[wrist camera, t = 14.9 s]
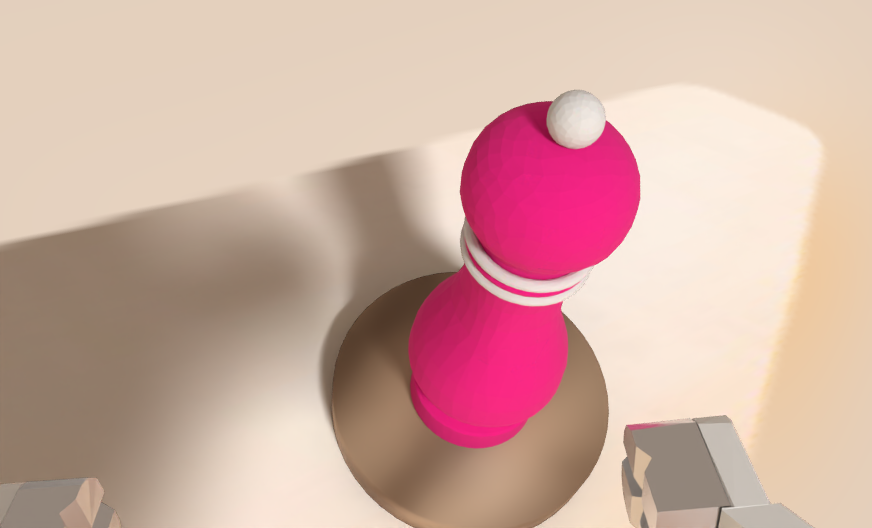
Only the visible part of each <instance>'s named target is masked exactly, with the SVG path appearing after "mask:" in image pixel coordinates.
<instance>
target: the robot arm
mask: <svg viewBox="0 0 872 528" xmlns="http://www.w3.org/2000/svg"><path fill="white" fill-rule="evenodd" d="M623 442H624V446H625V449H626V453H627V457H626V458H625V459H624V460H623V461H622V486H623V495H624V500H625V505H626V510H627V513H628V517H629V521H630V523H631V524H632V525H633V526H634V527H635V528H814V527H813V526H812V525H810V524H809V523H807V522H806V521H805V520H803V519H802V518H801V517H799V516H798V515H797V514H795V513H794V512H792V511H791V510H790V509H788V508H787V507H785V506H784V505H783V504H781V503H770V501H769V499H768V497H767V495H766V493H765V491H764V489H763V487H762V485H761V483H760V480H759V478H758V476H757V474H756V472H755V470H754V467H753V465H752V463H751V461H750V459H749V457H748V455H747V453H746V450H745V448H744V446H743V444H742V442H741V440H740V438H739V436H738V433H737V431H736V429H735V427H734V425H733V423H732V421H731V420H730V419H729V418H728V417H727V416H726V415H724V416H714V417H704V418H693V419H690V418H689V419H679V420H670V421H661V422H652V423H642V424H633V425H626V428H625V430H624V441H623ZM104 492H105V491H104V489H103V487H102V486H101V484H100V483H99V481H98V479H97V478H75V479H60V480H46V481H31V482H21V483H9V484H0V528H121V523H120V519H119V517H118V515H117V513H116V511H115V510H114V509H113V508H111V507H109V506H107V505H106V504H104V503H102V502H101V501H102V498H103V495H104Z"/></svg>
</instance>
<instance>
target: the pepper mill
mask: <svg viewBox="0 0 872 528" xmlns="http://www.w3.org/2000/svg"><path fill="white" fill-rule="evenodd" d="M460 195H461V201H462V206H463V210H464V213H465V221H464V225H463V228H462V231H461V238H460V247H461V254H462V258H463V260H464V262H465V263H464V265H463V267H462V268H461V269H460V270H459V272H457V273H455V274H454V275H452V276H450V277H449V278H447V279H446V280H444V281H443V282H441V283H440V284H439V285H438V286H437V287H436V288H435V289H434V290H433V291H432V292H431V293H430V295H429V296H428V297H427V298H426V299H425V301H424V302H423V304H422V305H421V307H420V309H419V310H418V312H417V315H416V318H415V320H414V323H413V326H412V328H411V332H410V337H409V347H408V353H409V360H410V366H411V369H412V375H411V382H410V391H411V398H412V402H413V405H414V408H415V410H416V412H417V414H418V415H419V417H420V418H421V420H422V421H423V422H424V424H425V425H426V426H427V427H428V428H429V429H430V430H431V431H432V432H433V433H435V434H436V435H437V436H439V437H440V438H442V439H443V440H445V441H447V442H450V443H452V444H455V445H458V446H462V447H467V448H475V449H476V448H488V447H493V446H496V445H499V444H502V443H504V442H506V441H508V440H509V439H511V438H512V437H514V436H515V435H516V434H517V433H518V432H519V431H520V430H521V429H522V428H523V427H524V425H525V424H526V422H527V420H528V419H529V418H530V417H532V416H534V415H535V414H536V413H538V412H539V411H540V410H541V409H543V408H544V407H545V406H546V405H547V404H548V403H549V402H550V400H551V399H552V397H553V396H554V394H555V393H556V391H557V389H558V387H559V385H560V382H561V380H562V377H563V374H564V371H565V368H566V366H567V358H568V334H567V329H566V325H565V321H564V318H563V315H562V312H561V306H562V303H563V300H566V299H568V298H569V297H571V296H572V295H574V294H575V293H576V292H577V291H578V290H579V289H580V288H581V287H582V286H583V285H584V284H585V282H586V280H587V279H588V276H589V274H590V272H591V270H592V269H593V267H594V265H596V264H598V263H600V262H601V261H603V260H604V259H606V258H607V257H608V256H609V255H610V254H611V253H612V252H613V251H614V250H615V249H616V248H617V247H618V246H619V245H620V244H621V243H622V242H623V240H624V238H625V237H626V235H627V233H628V232H629V230H630V228H631V227H632V224H633V221H634V219H635V216H636V213H637V210H638V206H639V201H640V174H639V170H638V166H637V162H636V159H635V157H634V155H633V153H632V151H631V149H630V147H629V145H628V144H627V142H626V141H625V139H624V138H623V136H622V135H621V134H620V133H619V132H618V131H617V130H616V129H615V128H614V127H613V126H612V124H610V123H609V122H608V121H606V116H605V110H604V107H603V106H602V104H601V102H600V101H599V99H597V98H596V97H595V96H594V95H593V94H591V93H589V92H586V91H583V90H573V91H568V92H565V93H563V94H561V95H560V96H559V97H557V98H556V99H555V100H554V101H548V102H547V101H546V102H536V103H530V104H525V105H522V106H519V107H516V108H513V109H511V110H509V111H507V112H505V113H503V114H501V115H500V116H498V118H496V119H495V120H494V121H493V122H491V123H490V124H489V125H487V126H486V127H485V128H484V129H483V131H482V132H481V133H480V135H479V136H478V137H477V139H476V140H475V141H474V143H473V145H472V147H471V149H470V152H469V154H468V156H467V158H466V161H465V163H464V167H463V170H462V176H461V186H460Z"/></svg>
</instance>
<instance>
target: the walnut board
mask: <svg viewBox="0 0 872 528" xmlns="http://www.w3.org/2000/svg"><path fill="white" fill-rule="evenodd" d="M455 273H457V272H449V273H438V274H433V275H428V276H423V277H420V278H417V279H414V280H411V281H408V282H406V283H403V284H401V285H399V286H397V287H395V288H393V289H391V290H390V291H388V292H387V293H385V294H384V295H382V296H380V297H379V298H378V299H377V300H375V301H374V302H373V303H372V304H371V305H370V306H368V307H367V308H366V309H365V311H364V312H363V313H362V314H361V315H360V316H359V317H358V318H357V320H356V321H355V323H354V324H353V326H352V327H351V329H350V330H349V331H348V333H347V335H346V337H345V339H344V341H343V344H342V346H341V348H340V351H339V354H338V358H337V361H336V365H335V371H334V377H333V394H332V416H333V424H334V431H335V434H336V438H337V442H338V445H339V448H340V450H341V453H342V455H343V457H344V460H345V462H346V464H347V466H348V467H349V469H350V471H351V472H352V474H353V476H354V477H355V479H356V480H357V481H358V483H359V484H360V485H361V487H362V488H363V489H364V490H365V492H366V493H367V494H368V495H369V496H370V497H371V498H372V499H373V500H374V501H375V502H377V503H378V504H379V505H380V506H381V507H382V508H383V509H385V510H386V511H387V512H389V513H390V514H392V515H393V516H394V517H396V518H397V519H399V520H401V521H403V522H405V523H406V524H408V525H410V526H412V527H414V528H533V527H535V526H537V525H539V524H541V523H542V522H544V521H545V520H547V519H548V518H550V517H551V516H553V515H554V514H555V513H556V512H557V511H559V510H560V509H561V508H562V507H563V506H564V505H565V504H566V503H567V502H568V501H569V500H570V499H571V497H572V496H573V495H574V494H575V493H576V491H577V490H578V489H579V488H580V487H581V485H582V484H583V483H584V482H585V480H586V479H587V478H588V477H589V475H590V473H591V472H592V470H593V468H594V466H595V465H596V463H597V461H598V459H599V456H600V454H601V451H602V449H603V446H604V442H605V438H606V433H607V428H608V415H609V409H608V395H607V390H606V385H605V380H604V377H603V374H602V371H601V368H600V365H599V363H598V361H597V358H596V356H595V354H594V352H593V350H592V348H591V347H590V345H589V344H588V342H587V340H586V339H585V337H584V336H583V334H582V333H581V332H580V331H579V330H578V328H577V327H576V326H575V325H574V323H573V322H572V321H571V320H570V319H569V318H568V317H567V316H566V315H565V314H564V313H563V312H562V311H561V312H562V315H563V318H564V321H565V325H566V329H567V334H568V358H567V366H566V368H565V371H564V374H563V377H562V380H561V382H560V385H559V387H558V389H557V391H556V393H555V394H554V396H553V397H552V399H551V400H550V402H549V403H548V404H547V405H546V406H545V407H544V408H543V409H541V410H540V411H539V412H538V413H536V414H535V415H534V416H532V417H530V418H529V419H528V420H527V422H526V424H525V425H524V427H523V428H522V429H521V430H520V431H519V432H518V433H517V434H516V435H515V436H514V437H512V438H511V439H509V440H508V441H506V442H504V443H502V444H499V445H496V446H493V447H488V448H476V449H475V448H467V447H462V446H458V445H455V444H452V443H450V442H447V441H445V440H443V439H442V438H440V437H439V436H437V435H436V434H435V433H433V432H432V431H431V430H430V429H429V428H428V427H427V426H426V425H425V424H424V422H423V421H422V420H421V418H420V417H419V415H418V414H417V412H416V410H415V408H414V405H413V402H412V398H411V391H410V382H411V375H412V369H411V366H410V360H409V353H408V347H409V337H410V332H411V328H412V326H413V323H414V320H415V318H416V315H417V312H418V310H419V309H420V307H421V305H422V304H423V302H424V301H425V299H426V298H427V297H428V296H429V295H430V293H431V292H432V291H433V290H434V289H435V288H436V287H437V286H438V285H439V284H440V283H441V282H443V281H444V280H446V279H447V278H449V277H450V276H452V275H454V274H455Z"/></svg>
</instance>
